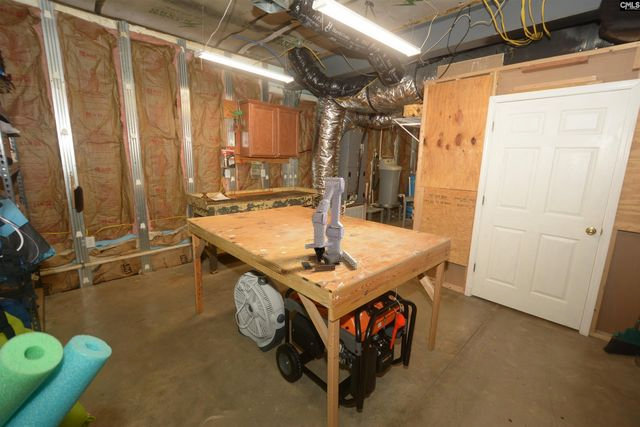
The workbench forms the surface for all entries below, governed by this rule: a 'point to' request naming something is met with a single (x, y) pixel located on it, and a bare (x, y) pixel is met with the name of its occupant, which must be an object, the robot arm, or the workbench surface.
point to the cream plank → (349, 259)
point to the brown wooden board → (322, 267)
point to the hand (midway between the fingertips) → (319, 261)
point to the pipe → (332, 258)
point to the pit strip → (306, 265)
